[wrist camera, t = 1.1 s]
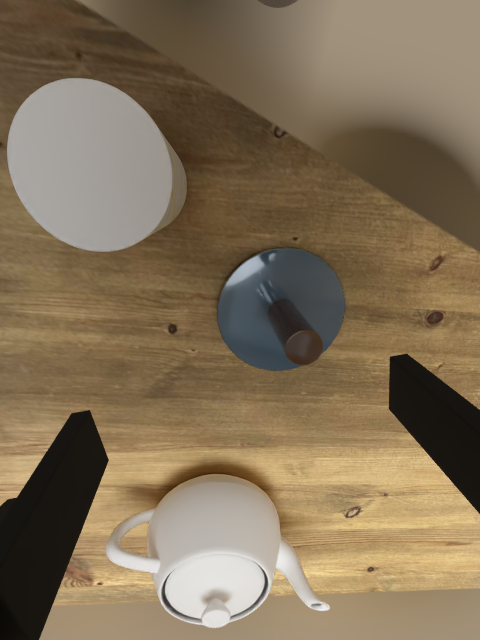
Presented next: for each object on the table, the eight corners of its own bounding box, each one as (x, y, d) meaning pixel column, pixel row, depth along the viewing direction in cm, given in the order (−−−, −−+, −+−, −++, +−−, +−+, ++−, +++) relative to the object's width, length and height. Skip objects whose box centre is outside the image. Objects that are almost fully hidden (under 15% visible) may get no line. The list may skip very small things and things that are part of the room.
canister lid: (267, 219, 30) (290, 226, 21) (365, 293, 33) (420, 325, 25) (192, 327, 33) (186, 371, 24) (290, 384, 36) (315, 441, 28)
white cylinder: (166, 247, 30) (140, 275, 19) (77, 206, 28) (-10, 210, 17) (202, 160, 28) (196, 133, 17) (108, 110, 26) (31, 40, 15)
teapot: (107, 530, 41) (68, 655, 30) (142, 436, 37) (112, 541, 26) (281, 563, 47) (305, 681, 35) (331, 484, 42) (376, 590, 31)
